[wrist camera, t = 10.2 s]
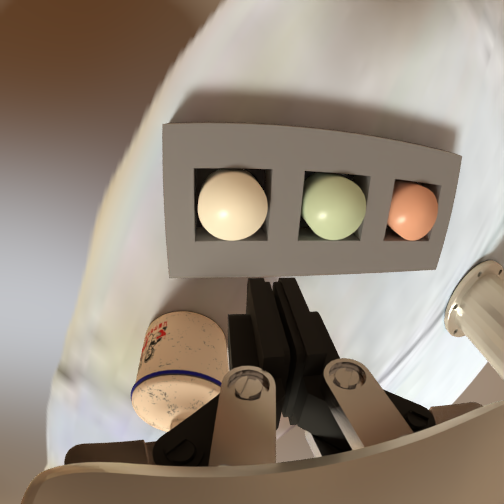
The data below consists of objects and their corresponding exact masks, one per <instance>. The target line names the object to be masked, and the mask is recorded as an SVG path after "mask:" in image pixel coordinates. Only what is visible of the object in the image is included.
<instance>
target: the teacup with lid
mask: <svg viewBox="0 0 504 504" xmlns="http://www.w3.org/2000/svg"><path fill="white" fill-rule="evenodd" d="M228 372H229V368H228V358H227V347H226V339H225V336H224V333H223V331H222V330H221V328H220V327H219V326H218V325H217V324H216V323H215V322H214V321H212V320H211V319H209V318H207V317H205V316H203V315H201V314H198V313H193V312H187V311H178V312H171V313H167V314H165V315H162V316H160V317H159V318H157V319H156V320H154V321H153V322H152V323H151V325H150V326H149V328H148V330H147V332H146V335H145V340H144V344H143V349H142V354H141V358H140V363H139V368H138V373H137V379H136V383H135V385H134V386H133V388H132V391H131V401H132V405H133V407H134V410H135V411H136V413H137V414H138V416H139V417H140V418H141V419H143V420H144V421H145V422H146V423H148V424H149V425H151V426H153V427H155V428H157V429H160V430H163V431H166V432H168V431H170V430H171V429H172V428H174V427H175V426H177V425H178V424H179V423H181V422H182V421H184V420H185V419H186V418H188V417H189V416H190V415H192V414H193V413H194V412H196V411H197V410H198V409H200V408H201V407H202V406H204V405H205V404H206V403H208V402H209V401H210V400H212V399H213V398H214V397H216V396H217V395H218V394H219V393H220V389H221V383H222V380H223V377H224V376H225V375H226V374H227V373H228Z"/></svg>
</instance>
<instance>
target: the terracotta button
mask: <svg viewBox="0 0 504 504" xmlns="http://www.w3.org/2000/svg"><path fill="white" fill-rule="evenodd" d="M437 214H438V203H437V199H436V197H435V195H434V194H433V192H432V191H431V190H429V189H427V188H425V187H423V186H421V185H419V184H417V183H414V182H412V181H408V180H400V179H397V180H395V182H394V188H393V194H392V200H391V206H390V211H389V216H388V221H387V226H388V227H390V228H391V229H392V230H394V231H395V232H396V233H397V234H399V235H400V236H401V237H403V238H404V239H406V240H411V241H413V240H418V239H420V238H422V237H424V236H425V235H426V234H427V233H428V232H429V231H430V230H431V229H432V227H433V225H434V223H435V221H436V218H437Z"/></svg>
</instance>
